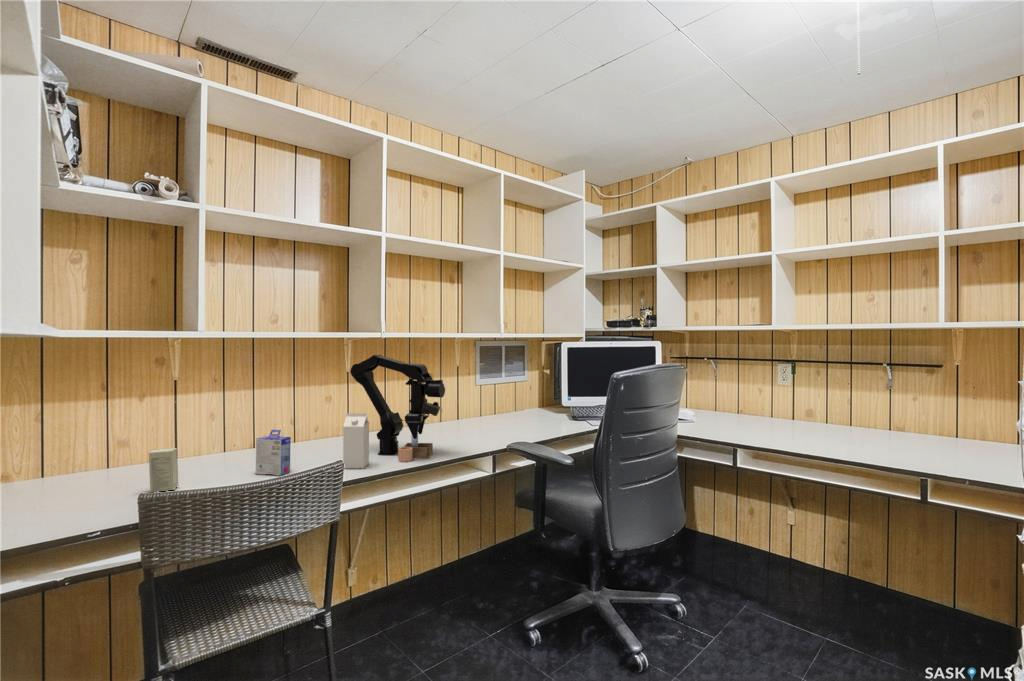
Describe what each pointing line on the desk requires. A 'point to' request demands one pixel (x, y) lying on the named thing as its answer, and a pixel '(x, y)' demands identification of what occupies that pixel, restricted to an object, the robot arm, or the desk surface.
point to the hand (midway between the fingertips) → (417, 436)
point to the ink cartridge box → (273, 454)
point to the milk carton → (356, 440)
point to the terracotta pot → (405, 454)
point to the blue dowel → (415, 442)
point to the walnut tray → (421, 449)
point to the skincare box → (163, 469)
